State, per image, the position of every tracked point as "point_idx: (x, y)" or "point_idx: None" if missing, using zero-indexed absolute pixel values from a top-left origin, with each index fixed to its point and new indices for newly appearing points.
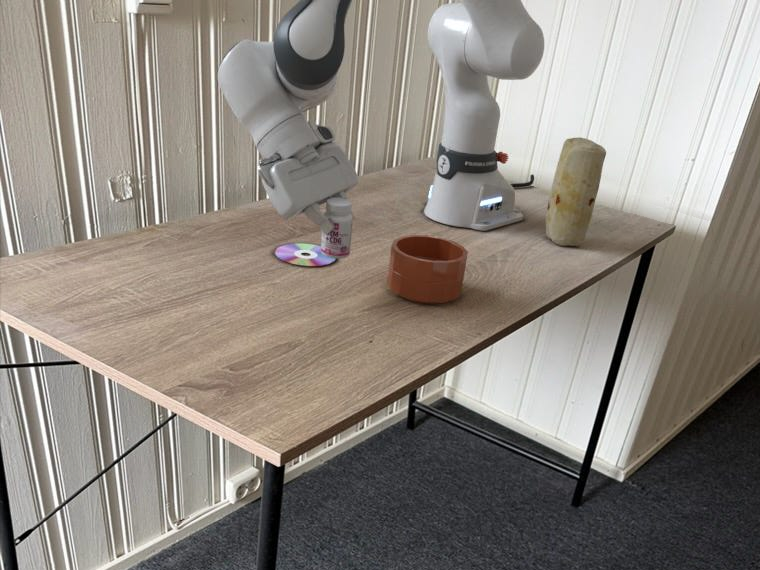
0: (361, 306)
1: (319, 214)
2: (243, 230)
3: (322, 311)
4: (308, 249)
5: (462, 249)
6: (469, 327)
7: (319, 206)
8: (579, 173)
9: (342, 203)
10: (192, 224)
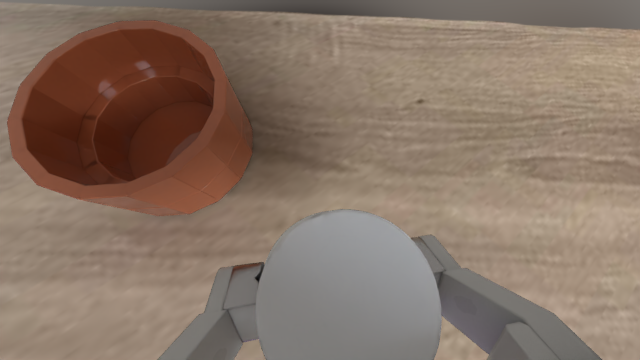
0: (332, 182)
1: (516, 296)
2: None
3: (404, 214)
4: None
5: (71, 46)
6: (266, 39)
7: (520, 344)
8: None
9: (362, 256)
10: None
